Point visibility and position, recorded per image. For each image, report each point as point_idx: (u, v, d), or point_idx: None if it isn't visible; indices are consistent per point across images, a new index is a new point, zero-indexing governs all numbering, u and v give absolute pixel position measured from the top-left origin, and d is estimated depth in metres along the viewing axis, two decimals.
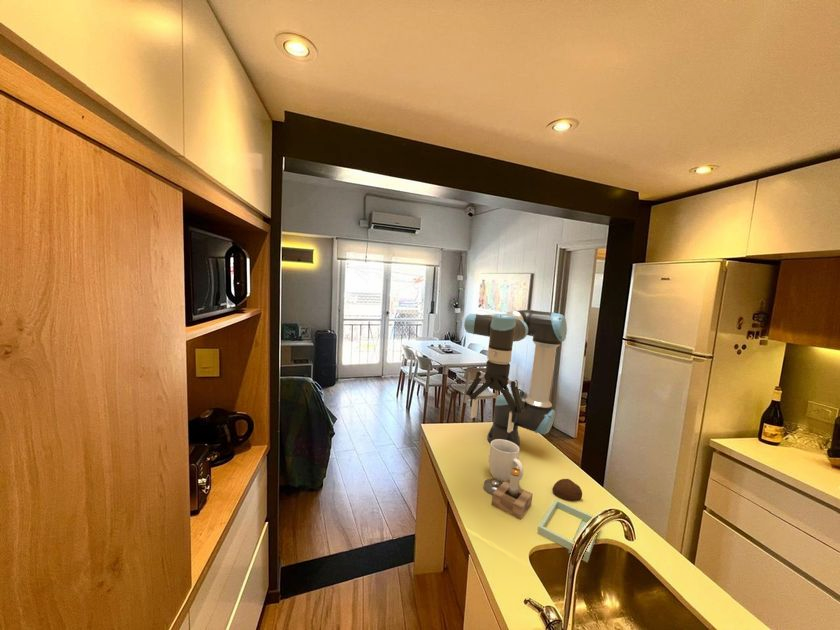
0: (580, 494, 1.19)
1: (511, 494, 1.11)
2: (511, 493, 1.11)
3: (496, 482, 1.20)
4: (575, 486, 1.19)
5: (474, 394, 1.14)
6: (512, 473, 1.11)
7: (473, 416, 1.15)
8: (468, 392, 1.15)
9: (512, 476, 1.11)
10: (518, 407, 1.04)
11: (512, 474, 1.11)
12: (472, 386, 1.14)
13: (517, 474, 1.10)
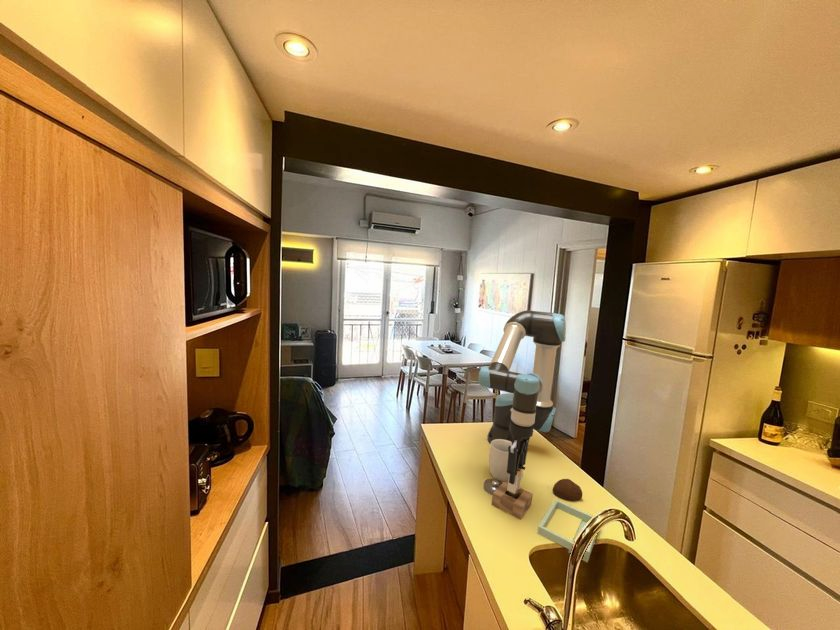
0: (580, 494, 1.19)
1: (511, 494, 1.11)
2: (511, 493, 1.11)
3: (496, 482, 1.20)
4: (575, 486, 1.19)
5: None
6: None
7: None
8: None
9: None
10: None
11: None
12: None
13: None
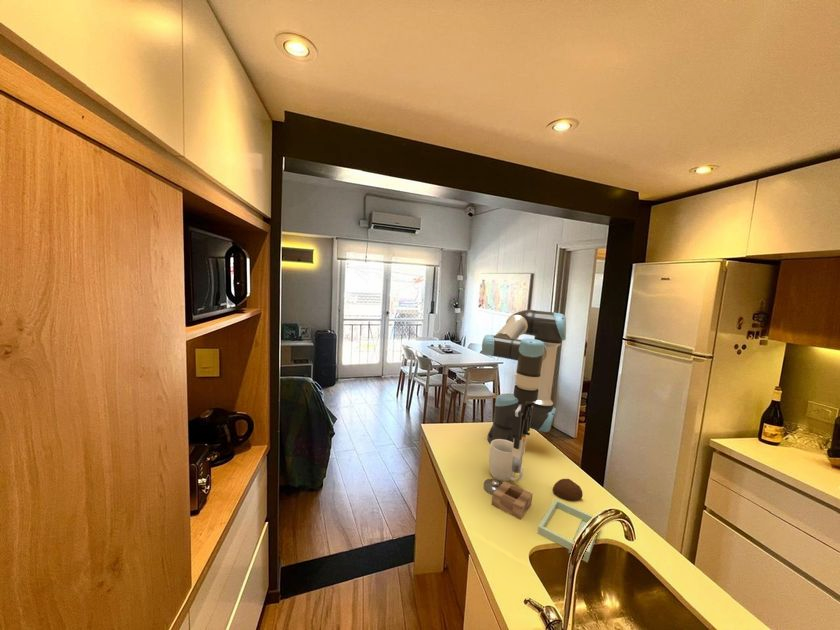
0: (580, 494, 1.19)
1: (516, 459, 1.10)
2: (515, 458, 1.10)
3: (496, 482, 1.20)
4: (575, 486, 1.19)
5: None
6: None
7: None
8: None
9: None
10: None
11: None
12: None
13: None
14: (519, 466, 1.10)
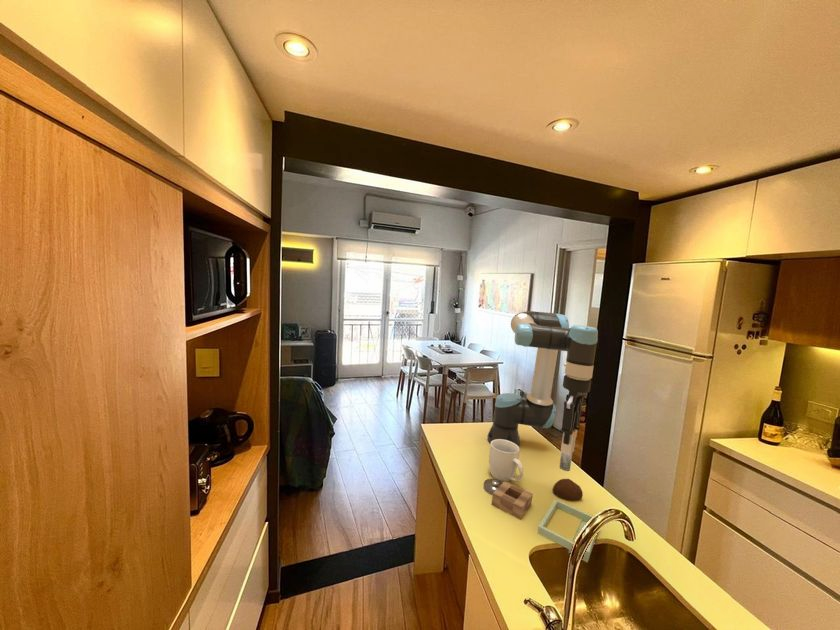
0: (580, 494, 1.19)
1: (565, 456, 1.02)
2: (565, 455, 1.02)
3: (496, 482, 1.20)
4: (575, 486, 1.19)
5: None
6: None
7: None
8: None
9: None
10: None
11: None
12: None
13: None
14: (569, 463, 1.02)
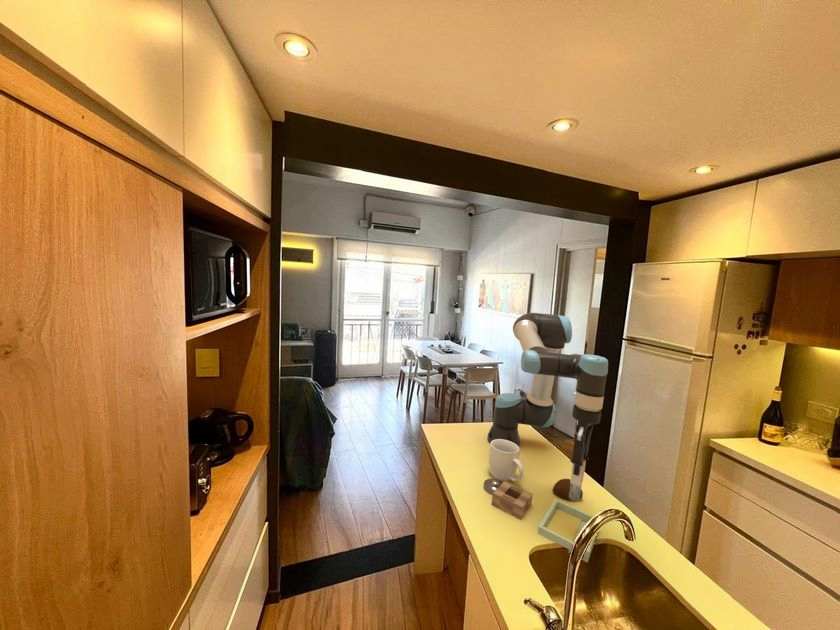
0: (580, 494, 1.19)
1: (575, 487, 1.01)
2: (574, 486, 1.01)
3: (496, 482, 1.20)
4: None
5: None
6: None
7: None
8: None
9: None
10: (572, 457, 0.98)
11: None
12: None
13: None
14: (578, 494, 1.01)
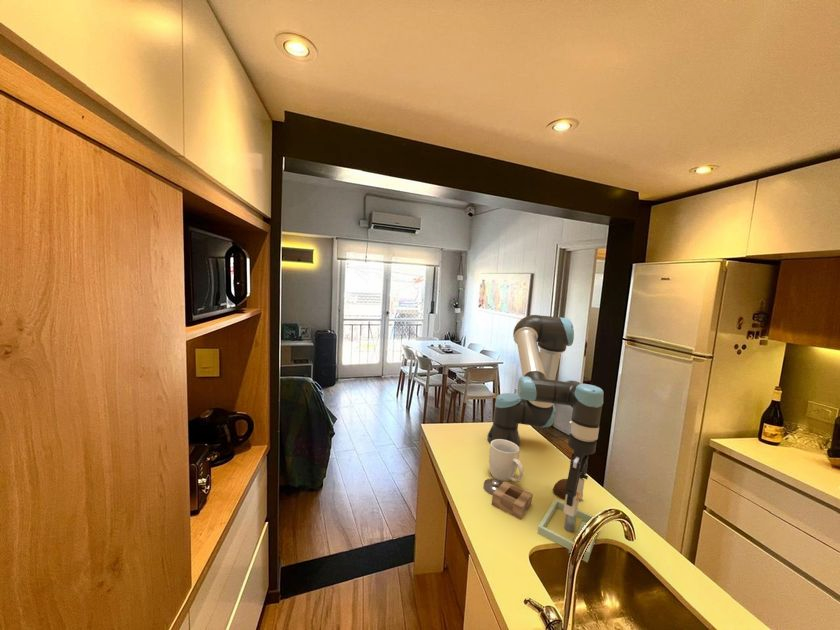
0: None
1: (569, 519, 1.02)
2: (569, 518, 1.02)
3: (496, 482, 1.20)
4: None
5: None
6: None
7: None
8: None
9: None
10: (566, 487, 0.96)
11: None
12: None
13: (576, 498, 1.01)
14: (573, 526, 1.02)
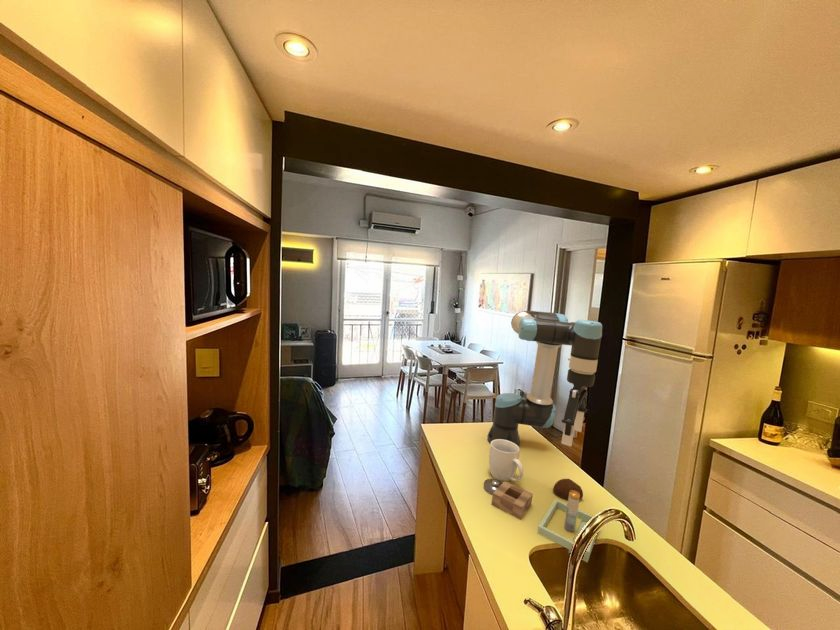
0: (581, 494, 1.19)
1: (570, 519, 1.02)
2: (569, 518, 1.02)
3: (496, 482, 1.20)
4: (576, 486, 1.19)
5: None
6: (571, 496, 1.02)
7: (574, 428, 1.10)
8: None
9: (571, 499, 1.02)
10: (564, 416, 0.97)
11: (571, 497, 1.02)
12: None
13: (577, 497, 1.01)
14: (573, 526, 1.02)
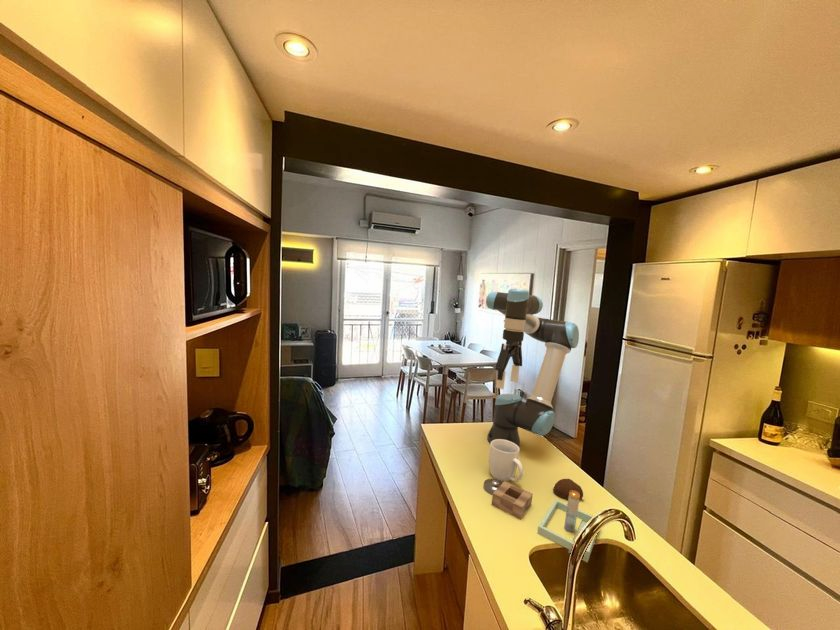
0: (581, 494, 1.19)
1: (570, 519, 1.02)
2: (569, 518, 1.02)
3: (496, 482, 1.20)
4: (576, 486, 1.19)
5: None
6: (571, 496, 1.02)
7: (511, 380, 1.33)
8: None
9: (571, 499, 1.02)
10: None
11: (571, 497, 1.02)
12: None
13: (577, 497, 1.01)
14: (573, 526, 1.02)
